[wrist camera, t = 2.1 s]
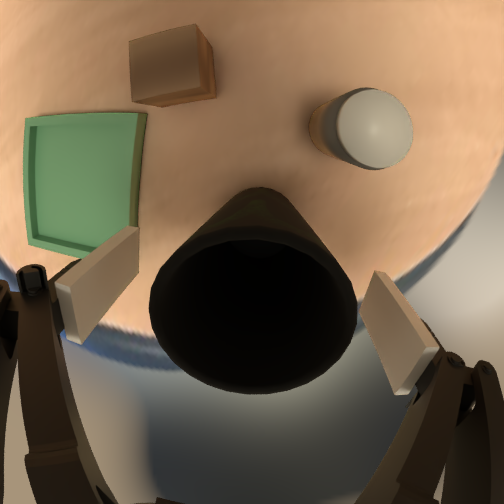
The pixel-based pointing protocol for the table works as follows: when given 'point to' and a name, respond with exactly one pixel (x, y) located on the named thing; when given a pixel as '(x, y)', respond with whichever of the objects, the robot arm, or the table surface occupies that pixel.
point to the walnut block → (172, 67)
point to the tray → (81, 179)
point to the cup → (253, 299)
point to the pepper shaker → (363, 129)
